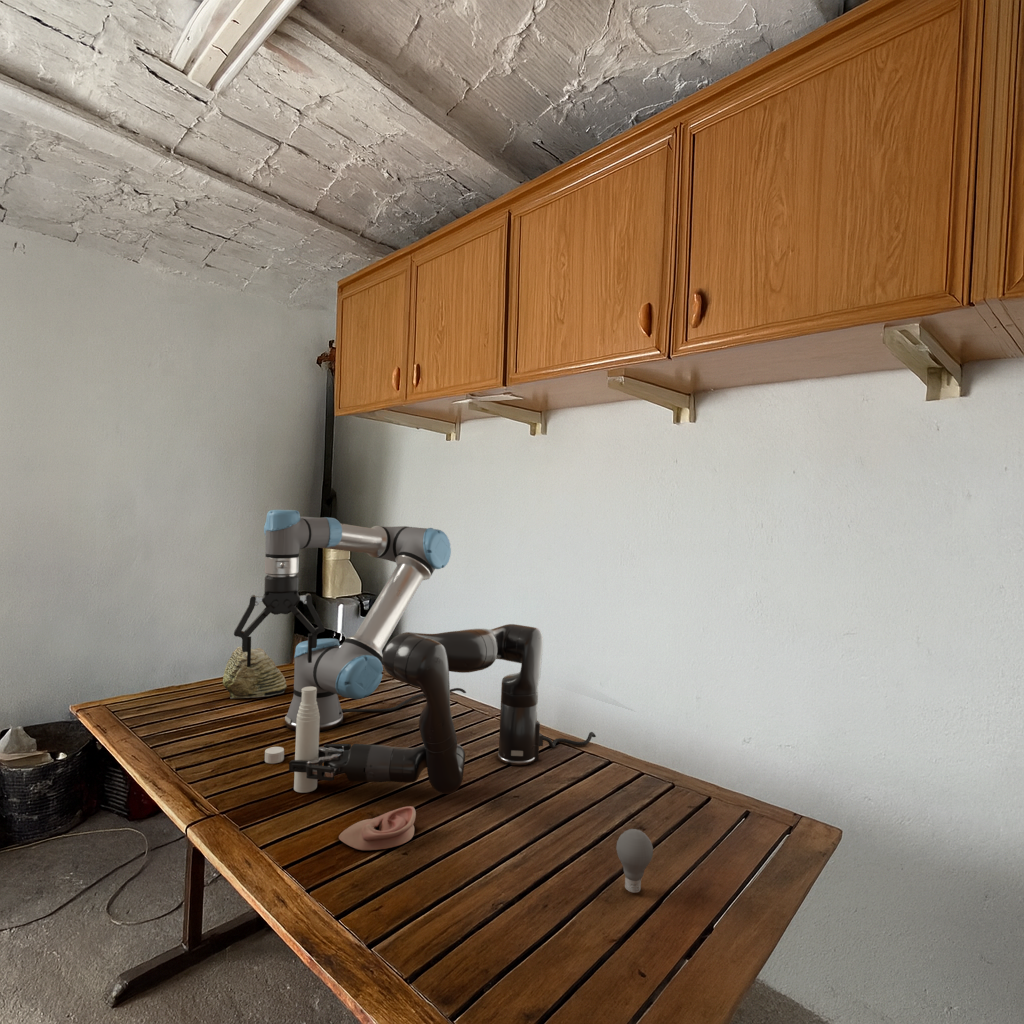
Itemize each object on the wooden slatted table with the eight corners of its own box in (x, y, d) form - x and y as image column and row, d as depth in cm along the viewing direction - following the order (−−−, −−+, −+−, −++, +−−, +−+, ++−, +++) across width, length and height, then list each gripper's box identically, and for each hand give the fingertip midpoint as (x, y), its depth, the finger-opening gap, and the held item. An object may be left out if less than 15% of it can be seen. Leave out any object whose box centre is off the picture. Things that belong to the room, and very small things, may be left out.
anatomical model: (331, 824, 115) (359, 795, 126) (330, 845, 115) (358, 815, 126) (400, 835, 112) (422, 805, 124) (399, 857, 112) (421, 825, 124)
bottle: (304, 780, 141) (308, 683, 140) (321, 785, 139) (325, 687, 138) (288, 789, 136) (292, 689, 136) (306, 794, 134) (310, 693, 134)
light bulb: (610, 879, 108) (613, 822, 108) (644, 879, 109) (647, 822, 109) (619, 902, 102) (622, 840, 102) (655, 901, 103) (658, 840, 103)
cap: (264, 764, 148) (264, 754, 148) (264, 757, 152) (264, 747, 152) (284, 762, 150) (284, 752, 150) (283, 755, 154) (283, 745, 154)
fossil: (218, 695, 195) (220, 647, 195) (278, 685, 208) (279, 640, 207) (228, 703, 189) (230, 653, 188) (289, 692, 201) (290, 645, 201)
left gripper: (223, 577, 142) (221, 671, 143) (337, 576, 152) (335, 663, 152) (224, 573, 149) (223, 662, 150) (334, 571, 159) (331, 655, 159)
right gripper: (380, 733, 144) (307, 730, 145) (364, 759, 130) (283, 755, 130) (379, 766, 145) (305, 762, 145) (363, 795, 130) (282, 791, 130)
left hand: (279, 663), depth 151 cm, fingers open, 13 cm apart
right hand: (295, 759), depth 138 cm, fingers open, 6 cm apart
